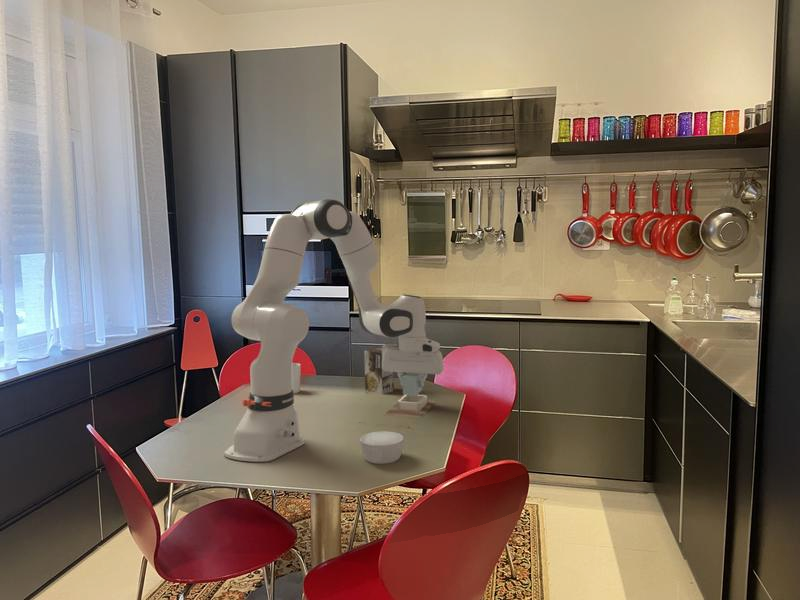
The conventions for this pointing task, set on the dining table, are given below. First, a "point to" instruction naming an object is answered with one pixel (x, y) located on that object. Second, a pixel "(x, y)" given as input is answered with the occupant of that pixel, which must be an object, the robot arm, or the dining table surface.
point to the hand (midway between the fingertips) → (412, 385)
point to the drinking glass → (296, 377)
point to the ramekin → (382, 447)
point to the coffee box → (377, 373)
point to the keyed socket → (412, 402)
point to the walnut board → (409, 411)
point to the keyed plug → (411, 383)
